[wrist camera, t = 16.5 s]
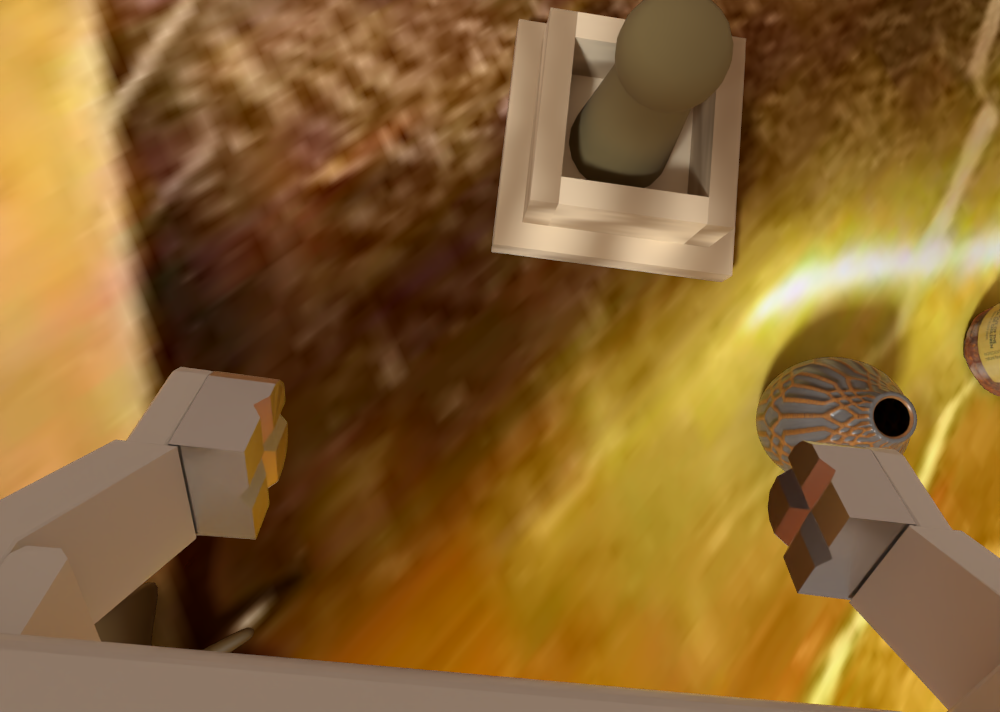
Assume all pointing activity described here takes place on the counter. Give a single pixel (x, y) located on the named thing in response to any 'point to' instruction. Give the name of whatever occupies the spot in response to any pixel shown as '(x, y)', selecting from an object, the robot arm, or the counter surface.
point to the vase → (833, 408)
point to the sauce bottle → (985, 349)
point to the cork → (651, 90)
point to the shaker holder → (604, 206)
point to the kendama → (149, 622)
